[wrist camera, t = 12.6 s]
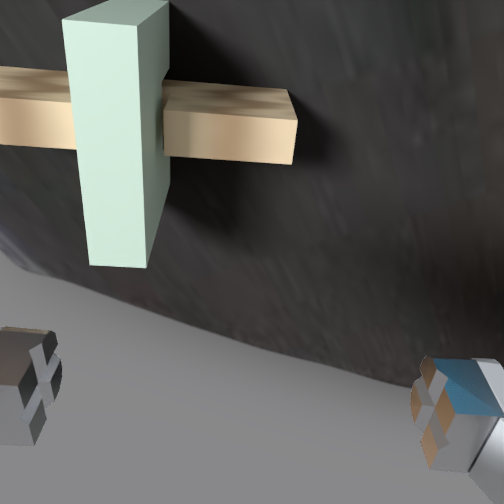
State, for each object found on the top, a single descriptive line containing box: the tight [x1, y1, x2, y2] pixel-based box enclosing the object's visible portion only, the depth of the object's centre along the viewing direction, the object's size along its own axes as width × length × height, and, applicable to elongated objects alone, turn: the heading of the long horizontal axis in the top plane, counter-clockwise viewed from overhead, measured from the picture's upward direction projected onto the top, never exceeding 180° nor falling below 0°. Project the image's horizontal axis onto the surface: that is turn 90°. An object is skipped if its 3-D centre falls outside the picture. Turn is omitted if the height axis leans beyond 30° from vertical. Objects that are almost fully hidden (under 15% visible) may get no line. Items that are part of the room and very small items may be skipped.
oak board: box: [0, 66, 298, 165], centre depth 34 cm, size 22×3×8 cm, turn 85°
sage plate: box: [62, 0, 170, 268], centre depth 32 cm, size 4×14×13 cm, turn 175°
